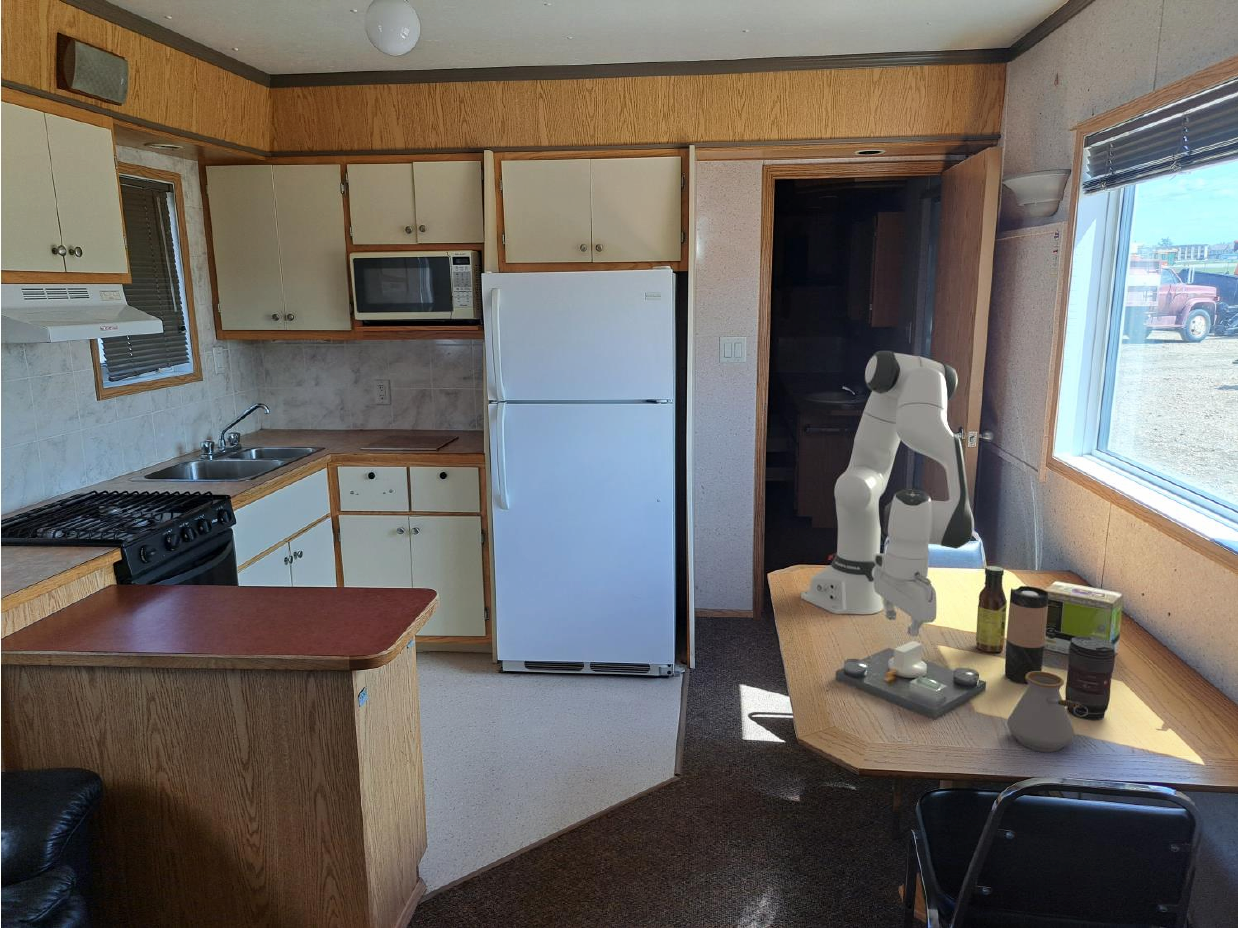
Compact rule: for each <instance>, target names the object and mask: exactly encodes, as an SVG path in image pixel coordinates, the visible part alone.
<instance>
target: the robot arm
mask: <svg viewBox="0 0 1238 928" xmlns="http://www.w3.org/2000/svg"><path fill="white" fill-rule="evenodd" d="M864 382H865V384H866V387H867V388H868V389H869V390H871V392H870V395H869V397H868V400H867V402H866V404H865V407H864V410H863V412H862V415H861V418H860V422H859V425H858V427H857V430H856V433H855V435H854V436H855V437H854V441H853V447H852V451H851V452H852V453H851V457H850V460H849V463H848V467H847V468H846V470H845V471H844V472H843V473H842V474H841V475H840V476H839V477H838V478H837V480H836V483H835V485H834V490H833V491H834V493H833V495H834V499H835V509H836V510H835V511H836V518H837V548H836V549H837V550H836V552H835V553H833V554H830V555H828V556H827V557H828V561H830V560H832V562H831V564H830V565H828V566H827V567H825V568H823V569H822V570H821V571H819V572H818V573H815V574H814V576H812V578H811V581H810V584H809V588H808V589H806V590H804V591H802V592H801V594H800V598H801V599H802V600H803V601H807V602H808V603H811V604H813V605H815V606H818V607H820V608H821V609H825V610H826V611H827V612H830V613H832V614H837V615H843V614H848V615H849V614H851V615H872V614H877V613H879V612H881V611H882V610H885V615H884V616H885V618H886V619H887V620H889V621H893V620H896V619H897V611H895V607H896V608H897V609H899V610H901V611H902V612H903V613H905V614H906V615H908V616H909V617H910V618H911V619H910V621H911V624H910V625H909V626H907V634H908V635H910V636H911V637H918V636H919V635H920V629H921V627H922V625H923V624H924V623H925V624H928V623H933V622H934V621H935V620H936V618H937V607H938V606H937V592H936V589H935V588H934V586H933V584H932V581H931V579H930V578H928V575H929V574H928V573H929V563H930V550H929V545H939V546H941V547H947V548H950V549H951V548H952V549H959V548H961V547H963V546H965V545H966V544H967V543H969V542H970V541H972V537H973V535H974V531H975V521H974V520H975V519H974V515H973V512H972V508H971V504H970V498H969V497H970V496H969V490H968V488H969V487H968V482H967V481H968V480H967V474H966V473H967V472H966V464H965V459H964V458H965V457H964V451H963V445H962V441H961V438H960V437H959V436H958V435H956V434H955V433H953V432H952V430H951V429H950V427H949V423H948V421H947V420H948V416H947V414H948V402H950V401H951V400H952V399H953V397H954V395H955V393H956V390H957V386H958V374H957V371H956V369H955V368H953V367H952V366H950V365H948V364H946V363H944V362H937V361H935V360H933V359H929V358H926V357H923V356H919V355H912V354H906V353H898V352H894V351H891V350H880V351H879V350H878V351H877V352H875V353H874V354H873V355H872V356H871V357H870V359H869V360H868V362H867V365H866V367H865V373H864ZM901 442H902V443H903V444H904V445H905V446H907V447H908V448H909V449H911V450H912V451H914V452H916V453H918V454H921V455H923V456H926V457H927V458H930V459H933V460H934V461H936V462H938V463H939V464H940V465H941V466H942V467H943V468H944V470H945V473H946V481H947V490H948V498H949V499H948V500H945V501H942V500H933V499H931V496H930V495H929V494H928V493H926V492H924V491H923V490H918V489H903V490H899V491H897V492H896V493H895V494H893V495H894V496H893V499H892V500H891V502H889V503H888V504H887V505H886V506H885V508H884V511H883V513H884V515H883V516H884V519H883V530H882V528H881V523H880V514H879V513H880V511H879V510H880V509H879V507H880V506H879V503H880V502H879V501H880V497H881V496H883V494H884V493H885V491H886V488H887V486H888V482H889V479H890V475H891V472H892V469H893V465H894V462H895V457H896V454H897V451H898V448H899V445H900V443H901ZM881 530H882V531H883V532H884V534H885V535H886V536H887V537H888V544H887V546H886V550H885V552H883V553H881V536H882V535H881V532H882V531H881ZM882 598H883V600H882Z"/></svg>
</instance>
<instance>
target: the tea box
mask: <svg viewBox="0 0 1238 928" xmlns="http://www.w3.org/2000/svg"><path fill="white" fill-rule="evenodd" d="M1044 590H1045V591H1046V592H1048V594H1049V597H1048V610H1047V623H1046V636H1045V647H1044V650H1049V651H1052V652H1053V651H1054V652H1057V653H1061V654H1065V655H1066V654H1067V655H1069V646H1070V643H1071V640H1072V638H1074V637H1080V636H1086V637H1095V638H1099V639H1103V640H1106V641H1108V642H1110V643H1112V644H1113V645H1114V646H1115V655H1116V654H1117V653H1118V651H1119V644H1120V635H1121V623H1122V614H1123V613H1122V611H1123V603H1124V602H1123V600H1124V593H1123V592H1118V591H1115V590H1114V591H1112V590H1108V589H1103V588H1096V587H1091V586H1086V585H1080V584H1075V583H1074V584H1073V583H1068V582H1063V581H1058V580H1055V581H1054V582H1053V583H1052V584H1050V585H1049V586H1047V587H1046V588H1044Z"/></svg>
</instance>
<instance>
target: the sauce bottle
mask: <svg viewBox="0 0 1238 928" xmlns="http://www.w3.org/2000/svg"><path fill="white" fill-rule="evenodd" d="M1004 572H1005V571H1004V568H1003V567H999V566H997V565H994V566H993V565H990V566H989V565H988V566H985V568H984V575H985V578H984V579H985V581H984V587H983V588H982V589H981V591H980V592H979V593H978V594H979V595H978V604H977V617H976V636H975V641H976V648H978V650H980V651H983V652H986V653H999V652H1003V649H1004V645H1005V640H1006V639H1005V638H1006V637H1005V636H1006V620H1007V609H1008V608H1007V607H1008V606H1007V604H1008V599H1007V598H1006V595H1005V591H1004V587H1003V578H1004V577H1003V576H1004V575H1005V573H1004Z"/></svg>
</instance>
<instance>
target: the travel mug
mask: <svg viewBox="0 0 1238 928" xmlns="http://www.w3.org/2000/svg"><path fill="white" fill-rule="evenodd" d="M1048 597H1049V594H1048V592H1046V591H1045V589H1042V588H1041V587H1035V586H1028V585H1021V586H1019V587H1018V588H1011V589H1010V595H1009V606H1008V618H1007V628H1006V637H1005V638H1006V639H1005V643H1006V644H1005V660H1004V661H1005V662H1004V665H1005V666H1004V676H1006V677H1005V678H1006V679H1007V680H1008V681H1010V682H1013V683H1016V684H1020V685H1027V686H1029V684H1028V683H1027V681H1026V680H1025V676H1026V674H1027V673H1029V672H1032V671H1042V670H1043V663H1044V662H1043V660H1044V653H1045V649H1044V647H1045V636H1046V623H1047V610H1048Z"/></svg>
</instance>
